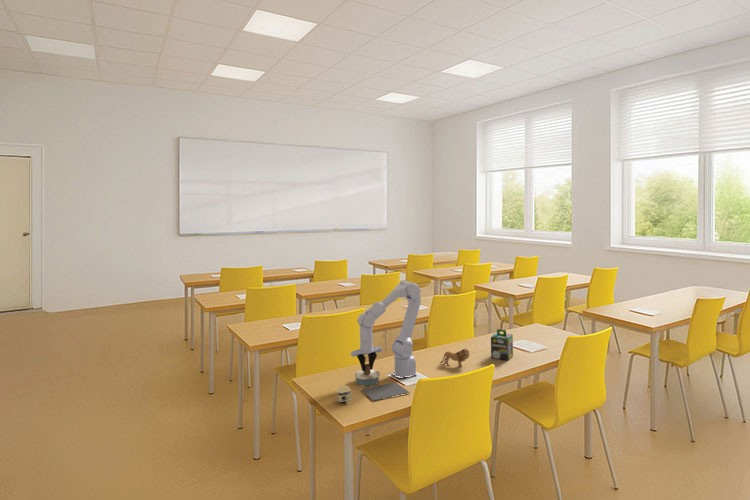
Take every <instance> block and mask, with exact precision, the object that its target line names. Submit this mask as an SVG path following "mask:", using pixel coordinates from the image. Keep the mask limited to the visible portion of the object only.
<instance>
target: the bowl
mask: <svg viewBox="0 0 750 500" xmlns="http://www.w3.org/2000/svg"><path fill="white" fill-rule="evenodd" d="M379 377H380V376H379ZM379 377H378V378H375V379H371V380H361V379H358V378H356V377H355V384H357V385H359V386H361V385H362V386H363V387H371V386H370V385H372V386H375V385H377V384H379V381H380V379H379ZM376 383H377V384H376ZM362 386H361V387H362Z"/></svg>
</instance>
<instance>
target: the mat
mask: <svg viewBox="0 0 750 500" xmlns="http://www.w3.org/2000/svg"><path fill="white" fill-rule="evenodd" d="M360 392H362V393H363V392H364V393H365V394H366V395H367V396H368V397H369V398H368V397H367V396H366V395H365V394H364V393H363V394H364V395H365V396H366V397H367V398H368V399H370V400H371V399H372V400H373V401H374V400H379V399H383V398H388V397H392V396H396V395H401V394H407V393H410V394H411V392H410V391H408V390H407V389H406V388H404V387H403V386H401V385H400V384H399V383H398V382H390V383H386V384H381V385H376V386H375V385H373V386H368V387H365V388H361V389H360ZM407 395H408V394H407ZM388 399H389V398H388ZM372 400H371V401H372ZM373 401H372V402H373ZM379 401H380V400H379ZM374 402H375V401H374Z"/></svg>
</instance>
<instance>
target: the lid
mask: <svg viewBox="0 0 750 500" xmlns="http://www.w3.org/2000/svg"><path fill="white" fill-rule="evenodd" d="M380 373H381V372H380V371H378V370H376V369H372V370H371V369H370V364H369V363H365V371H363V370H362V369H360V370H357V371H355V372H354V377H355V379H356V378H358V379H361V380H371V379H375V378H378V377H380Z"/></svg>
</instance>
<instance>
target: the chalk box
mask: <svg viewBox="0 0 750 500" xmlns="http://www.w3.org/2000/svg"><path fill="white" fill-rule="evenodd" d="M513 337H514V336H513V334H511V333H507V331H506V329H498V328H497V329H496V332H495V333H494V334H493V335H492V336H490V355H491V356H490V358H491V359H496V360H503V361H510V359H511V358H512V357H513V356H514V338H513Z"/></svg>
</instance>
